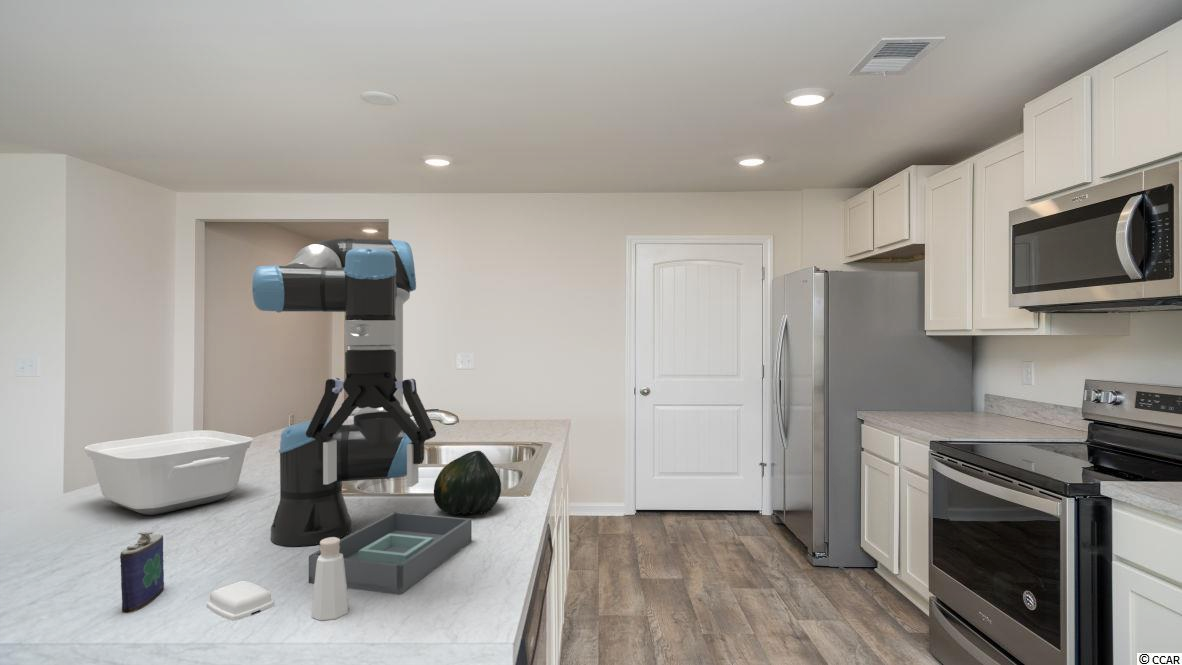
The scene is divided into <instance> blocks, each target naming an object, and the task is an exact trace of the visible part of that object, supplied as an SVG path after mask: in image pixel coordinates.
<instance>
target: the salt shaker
mask: <svg viewBox="0 0 1182 665" xmlns="http://www.w3.org/2000/svg"><path fill="white" fill-rule="evenodd" d="M340 540H341V538H336V537H329V538H325V539H323V540H321V541H320V544H319V545H320V549H319V550H321V555H320V556H319V557H318V559H317V564H316V573H315V583H313V584H314V585H313V594H312V604H311V615H310V617H311V618H312V619H315V620H317V621H320V622H321V621H330V620H337V619H339V618H340V617H342V616H345V615H347V614H348V612H349V609H350V604H349V594H348V588H347V584H346V575H345V567H344V558H343V554H341V553H339V549H340V547H339V546H340V545H339V544H340Z"/></svg>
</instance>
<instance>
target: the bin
mask: <svg viewBox="0 0 1182 665" xmlns="http://www.w3.org/2000/svg"><path fill="white" fill-rule="evenodd" d="M472 525H473V523H472V518H466V517H465V518H464V517H453V516H442V515H431V514H421V513H419V514H418V513H407V512H398V511H394V512H391V513H390V514H387V515H386V516H384V517H382V518H380V519H378V520H376V521H374V522H372V523H370V524H368V525H366V526H364V527H362V528H361V529H359V530H357V531H354V532H353V533H349V535H348V534H347V535H345V537H342V538H340V544H339V545H340V546H339V547H340V549H339V553H341V554H343V558H344V567H345V575H346V584H347V589H354V590H355V589H356V590H361V591H369V592H370V591H371V592H380V593H386V594H395V595H402V594H403V593H405V592H406V591H407V590H409V589H410V588H412V587H413V586H414V585H416V584H417V583H418V582H420V581H421V580H422V579H423V578H424V577H426V576H427V575H429V574H430V573H431V572H433V571H434V570H435V569H436V568H438V567H440V566H441V565H442V564H443V563H445V562H446V561H447V560H450V558H451V557H453V556H454V555H456V554H457V553H458V552H460V551H462V549H463V548H465V547H466V546H467V545H469V544H470V543H471V542H472V539H473V537H472V532H473V530H472V528H473V527H472ZM320 555H321V550H320V549H319V550H318V551H315V552H314V553H311V554H309V555H308V583H309V584H314V583H315V573H316V564H317V559H318V557H319V556H320Z"/></svg>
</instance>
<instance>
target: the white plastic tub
mask: <svg viewBox="0 0 1182 665" xmlns="http://www.w3.org/2000/svg"><path fill="white" fill-rule="evenodd" d="M253 440H254V438H253V437H251V436H246V435H245V436H244V435H240V434H239V435H238V434H235V433H230V432H229V433H227V432H223V431H217V430H210V429H209V430H206V429H205V430H203V429H201V430H187V431H178V432H170V433H163V434H156V435H148V436H143V437H141V436H140V437H134V438H125V439H117V440H111V441H110V440H109V441H102V442H97V443H93V444H88V445H86V446H85V447H84V451H85V453H86V454H87V456H88V457H89V458H90V459H91V460H92V463H93V467H94V471H95V473H96V478H97V480H98V484H99V487H100V488H99V489H100V491H101V495H102V496H103V497H104V498H105V499H106V500H107V501H110V502H111V503H112V504H113V505H117V506H119V507H121V508H124V509H128V510H131V511H133V512H136V513H139V514H142V515H148V516H155V515H161V514H165V513H170V512H174V511H179V510H183V509H188V508H191V507H196V506H201V505H205V504H209V503H213V502H214V503H215V502H218V501H221V500H223V499H224V498H226V497H227V496H229V495H230V494H231V493H232V492H233V491H234V490H236V488H237V486H239V481H240V477H241V473H242V469H243V464H244V460H245V456H246V453H247V451H248V449H250V446H251V444H252V442H253Z"/></svg>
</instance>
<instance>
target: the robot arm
mask: <svg viewBox="0 0 1182 665" xmlns="http://www.w3.org/2000/svg"><path fill="white" fill-rule="evenodd" d="M415 270H416V269H415V263H414V256H413V250H412V248H411V245H410V243H408V242H407V241H405V240H395V239H392V238H391V239H390V238H388V239H376V238H374V239H373V238H371V239H370V238H349V237H335V238H328V239H324V240H320V241H317V242H314V243H311V244H307V246H305V247H302V248H301V249H300V250H299V251H298V252H297V253H296V254H295V256H294V258H293V260H292V261H290V262H289V263H287V264H286V265H277V264H272V265H260V266H258V267H257V268H255V270H254V272H253V276H252V286H251V288H252V290H251V291H252V298H253V303H254V306H255V307H256V308H257V309H258V310H260V311H262V312H265V311H266V312H277V313H282V312H324V313H325V312H329V313H331V312H332V313H334V312H336V313H345V317H344V318H345V321H344V328H345V331H344V333H345V335H344V337H345V338H344V339H345V340H344V343H345V345H346V346H347V347H349V348H348V349H347V350H346V352H344V359H345V360H344V371H345V375H346V376H345V379H344V380H343V379H340V378H338V377H337V378H334V377H333V378H328V379H327V380H325V384H324V385H325V386H324V394H323V395H322V397H321V400H320V402H319V404H318V406H317V408H316V411H315V412H314V414H313V417H312V418H311V420H307V421H303V422H299V423H296V424H295V423H294V424H292V425H289V426H287V427H286V428H284V429H283V430H282V432H281V434H280V441H279V445H280V446H279V449H278V453H279V476H280V477H279V478H280V479H279V480H280V481H279V482H280V483H279V484H280V485H279V492H280V496H279V503H278V506H277V508H276V511H275V515H274V518H273V522H272V524H271V526H270V540H271V542H272V543H273V544H276V545H280V546H288V547H302V546H303V547H304V546H305V547H306V546H313V545H320V541H321V540H323V539H325V538H329V537H336V538H339V539H342V538H344V536H345V537H346V536H348V534H350V532H351V531H352V518H351V516H350V514H349V511H348V507H347V504H346V501H345V499H344V496H343V482H351V481H352V482H355V481H371V480H384V479H385V480H390V479H395V478H397V479H398V478H403V477H406V487H408V488H409V487H410V488H412V487H414V486H416V484H418V483H419V479H420V478H419V475H420V474H419V465H420V464H422V463H423V462H424V460H425V442H426V441H429V440H431V439H432V438H434V437H436V436H437V431H436V429H435V427H434V425H433V423H432V421H431V419H430V417H429V415H428V413H427V411H426V409H425V407H424V404H423V403H422V400H421V398H420V396H419V394H418V390H417V382H416V379H414V378H408V379H404V304H405V303H406V302H407V301H408V300H409V299H410V296H411V292H413V291H416V288H417V281H416V271H415ZM343 389H344V391H345V392H346V394H347V397H346V398H345V399H344V400H343V402H342V403H341V405H340V407H339V409H338V410H337V411H336V412H335V413H334V415H333V416H332V417H330V415H331V413H332V411H333V408H334V407H335V405H336V402H337V400H338V398H339V395H340V393H342V391H343ZM404 400H405V402H406V404H407V406H408V408H409V411H408V410H407V409H406V408H405V407H404ZM357 408H358V409H359V410H358V411H356V413H354V414H353V423H352V424H344V423H345V422H346V420H347V419H348V418H349V417H350V416H351V414H352V413H353V412H354V411H355V410H356V409H357ZM411 415H412V417H413V418H414V420H413V419H412V418H411Z"/></svg>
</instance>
